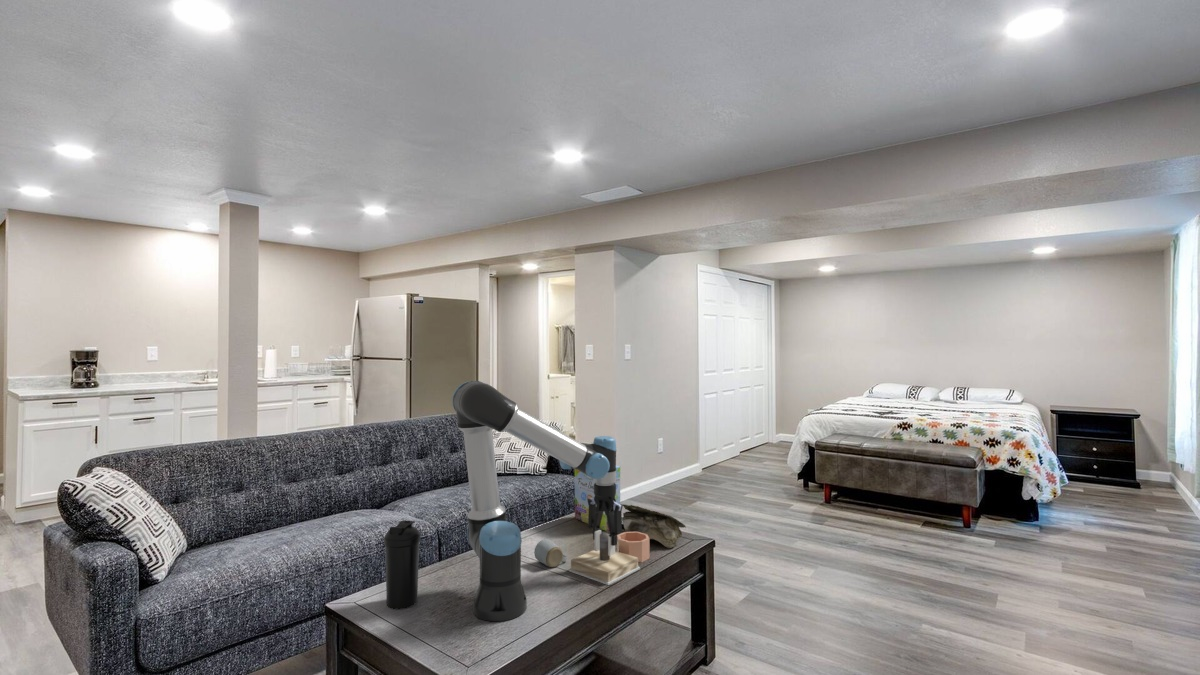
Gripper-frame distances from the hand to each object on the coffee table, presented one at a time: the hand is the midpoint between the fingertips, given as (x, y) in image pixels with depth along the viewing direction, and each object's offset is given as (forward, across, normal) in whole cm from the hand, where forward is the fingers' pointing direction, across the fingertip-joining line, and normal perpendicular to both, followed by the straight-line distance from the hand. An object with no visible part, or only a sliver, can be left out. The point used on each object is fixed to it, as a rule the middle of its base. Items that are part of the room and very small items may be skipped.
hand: (604, 552), depth 192 cm
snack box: (+6, +34, -36) cm, 50 cm away
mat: (+6, 0, 0) cm, 6 cm away
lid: (+5, 0, 0) cm, 5 cm away
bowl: (+6, 0, -16) cm, 17 cm away
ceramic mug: (+6, +18, +7) cm, 20 cm away
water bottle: (+6, +30, +57) cm, 65 cm away
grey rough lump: (+6, +6, -36) cm, 37 cm away
